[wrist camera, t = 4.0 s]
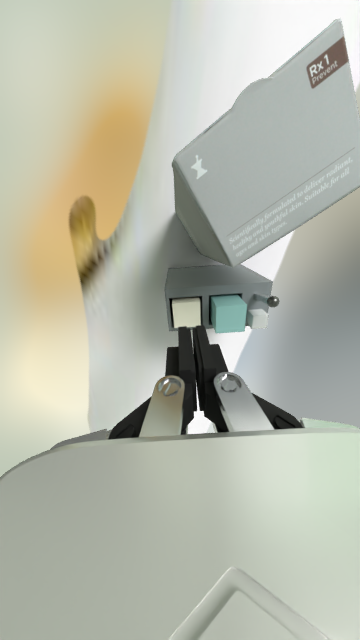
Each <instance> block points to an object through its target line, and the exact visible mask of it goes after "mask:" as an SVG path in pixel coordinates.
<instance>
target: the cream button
mask: <svg viewBox="0 0 360 640" xmlns="http://www.w3.org/2000/svg"><path fill="white" fill-rule="evenodd" d="M172 308H173V318H174V328H178V327H183V326H187V327H196V326H198V325H201V318H200V299H199V296H193V297H179V298H172Z"/></svg>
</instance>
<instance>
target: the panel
mask: <svg viewBox="0 0 360 640" xmlns="http://www.w3.org/2000/svg"><path fill="white" fill-rule="evenodd" d="M272 283H273V282H272V281H271V280H269V279H267V278H265V277H263V276H261V275H259V274H258V273H256V272H254V271H252V270H250V269H248V268H246V267H245V266H243V265H241V264H239V265H237V266H236V267H234V268H232V267H230V266H227V265H213V266H199V267H185V268H172V269H169V270H168V275H167V280H166V285H165V296H166V306H167V315H168V324H169V331H178V328H174V318H173V308H172V298H179V297H193V296H199V299H200V318H201V325H204V326H205V329H209V328H214V327H213V325H212V322H211V319H210V295H221V294H236V293H237V295H238V296H239V297H240V298H241V299H242V300H243V301H244V302H245V303H246V304H247V311H246V321H245V326H249V325H248V323H247V316H248V310H255V309H263V310H264V311H265V312H266V313H267V314H268V308H269V306H268V305H267V304H266V303H263V302H261V301H258V300H256V299H254V294H257V293H261V294H264V295H267V296H270V295H271V289H272ZM187 328H190V330H193V328H196V327H187Z"/></svg>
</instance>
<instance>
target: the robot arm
mask: <svg viewBox="0 0 360 640" xmlns="http://www.w3.org/2000/svg"><path fill="white" fill-rule="evenodd" d="M178 337H179V347H168V348H167V359H166V373H165V377H163V378H161V379H160V380H159V381H158V382H157V383H156V385H155V388H154V391H153V394H152V397H150V398H149V399H148V400H147V401H145V402H144V403H143V404H142V405H140V406H139V407H138V408H137V409H135V410H134V411H133V412H132V413H130V414H129V415H128V416H127V417H125V418H124V419H123V420H122V421H120V422H119V423H118V424H117V425H116V426H115V427H114V428H113V429H112V430H109V431H107V429H104V430H100V431H97V432H93V433H90V434H86V435H83V436H79V437H76V438H72V439H68V440H65V441H62V442H60V443H58V444H56V445H55V446H53V447H52V448H51V449H50V450H48V451H45V452H42V453H40V454H38V455H36V456H33V457H31V458H29V459H27V460H25V461H23V462H21V463H19V464H18V465H16V466H14V467H13V468H11V469H10V470H9V471H7V472H6V473H5V474H3V475H2V476H1V477H0V640H360V428H358V427H356V426H352V425H348V424H342V423H335V422H329V421H321V420H315V419H308V418H301V419H300V420H298V419H296V418H295V417H294V416H292V415H291V414H289V413H287V412H285V411H284V410H282V409H280V408H278V407H276V406H275V405H273V404H271V403H269V402H267V401H266V400H264V399H262V398H260V397H258V396H256V395H255V394H253V393H251V392H250V390H249V389H248V387H247V385H246V384H245V382H244V381H243V379H242V378H241V377H240V376H238V375H237V374H234V373H231V372H228V369H227V366H226V364H225V361H224V358H223V355H222V352H221V349H220V346H219V344H212V345H210V344H209V340H208V337H207V333H206V329H205V326H204V325H198V326H196V328H193V347H192V339H191V331H190V328H187V326H183V327H178ZM193 351H194V354H193ZM196 383H197V391H198V399H199V407H200V411H204V416H205V417H206V418H208V419H209V420H210V421H212V422H213V428H214V431H215V433H204V434H187V433H188V424H189V423H190V422H191V421H192V420H193V418H194V411H197V397H196Z"/></svg>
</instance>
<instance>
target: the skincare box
mask: <svg viewBox="0 0 360 640" xmlns="http://www.w3.org/2000/svg"><path fill="white" fill-rule="evenodd" d="M172 167H173V172H174V191H175V212H176V214H177V215H178V217H179V219H180V220H181V222H182V224H183V226H184V227H185V229H186V231H187V232H188V234H189V236H190V237H191V239H192V241H193V242H194V244H195V246H196V247H197V249H198V251H199V252H200V254H202V255H204V256H206V257H209V258H211V259H213V260H216V261H218V262H220V263H223V264H225V265H227V266H230V267H232V268H234V267H236V266H237V265H239V264H241V263H242V262H244V261H246V260H247V259H249V258H250V257H252V256H254V255H255V254H257V253H258V252H260V251H262V250H263V249H265V248H266V247H268V246H269V245H271V244H273V243H274V242H276V241H277V240H279V239H280V238H282V237H284V236H285V235H287V234H288V233H290V232H292V231H293V230H295V229H296V228H298V227H300V226H301V225H303V224H304V223H306V222H307V221H309V220H310V219H312V218H313V217H315V216H316V215H318V214H319V213H321V212H322V211H324V210H326V209H327V208H329V207H330V206H332V205H333V204H335V203H336V202H338V201H339V200H341V199H342V198H344V197H345V196H347V195H348V194H350V193H352V192H353V191H355V190H356V189H357V188H359V187H360V118H359V113H358V107H357V102H356V97H355V91H354V86H353V80H352V75H351V70H350V64H349V59H348V54H347V48H346V42H345V37H344V31H343V26H342V21H341V19H336V20H334V21H333V22H332V23H331V24H330V25H329V26H328V27H327V28H326V29H324V30H323V31H322V32H321V33H320V34H319V35H317V36H316V37H315V38H314V39H313V40H311V41H310V42H309V43H308V44H307V45H306V46H304V47H303V48H302V49H301V50H300V51H298V52H297V53H296V54H295V55H294V56H293V57H291V58H290V59H289V60H288V61H287V62H286V63H284V64H283V65H282V66H281V67H280V68H278V69H277V70H276V71H275V72H274V73H273V74H272V75H270V76H269V77H268V78H262V79H259V80H257V81H255V82H253V83H251V84H250V85H249V86H248V87H246V88H245V89H244V90H243V91H242V93H241V94H240V95H239V96H238V98H237V99H236V101H235V103H234V105H233V107H232V108H231V109H230V110H229V111H227V112H226V113H225V114H223V115H222V116H221V117H220V118H219V119H218V120H216V121H215V122H214V123H213V124H212V125H210V126H209V127H208V128H207V129H206V130H205V131H203V132H202V133H201V134H200V135H199V136H198V137H196V138H195V139H194V140H193V141H192V142H191V143H189V144H188V145H187V146H186V147H185V148H184V149H182V150H181V151H180V152H179V153H178V154H177V155H176V156H175V157H174V159H173V162H172Z"/></svg>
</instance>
